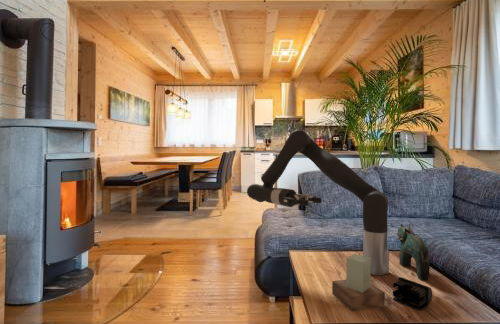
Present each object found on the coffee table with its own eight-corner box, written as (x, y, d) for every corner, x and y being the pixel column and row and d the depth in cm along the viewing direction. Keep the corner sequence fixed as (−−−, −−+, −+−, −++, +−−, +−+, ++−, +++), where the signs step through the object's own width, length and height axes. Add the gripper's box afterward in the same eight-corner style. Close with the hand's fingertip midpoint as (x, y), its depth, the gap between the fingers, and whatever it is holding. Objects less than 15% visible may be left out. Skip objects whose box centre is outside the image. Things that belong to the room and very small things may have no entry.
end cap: (432, 305, 100) (433, 285, 100) (421, 312, 96) (422, 290, 96) (402, 293, 109) (403, 274, 108) (391, 299, 105) (391, 279, 104)
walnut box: (362, 291, 111) (362, 277, 111) (384, 307, 100) (384, 292, 99) (332, 295, 108) (332, 281, 108) (351, 312, 97) (352, 296, 96)
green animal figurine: (395, 262, 138) (396, 218, 138) (409, 262, 138) (410, 218, 137) (417, 281, 119) (419, 230, 118) (434, 281, 118) (436, 230, 118)
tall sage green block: (354, 282, 107) (354, 253, 107) (369, 287, 103) (370, 257, 103) (346, 287, 103) (346, 257, 103) (362, 292, 99) (362, 262, 99)
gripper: (272, 189, 129) (303, 194, 117) (294, 187, 138) (325, 190, 126) (272, 207, 129) (303, 213, 117) (294, 203, 139) (324, 209, 127)
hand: (314, 201), depth 122 cm, fingers open, 8 cm apart
